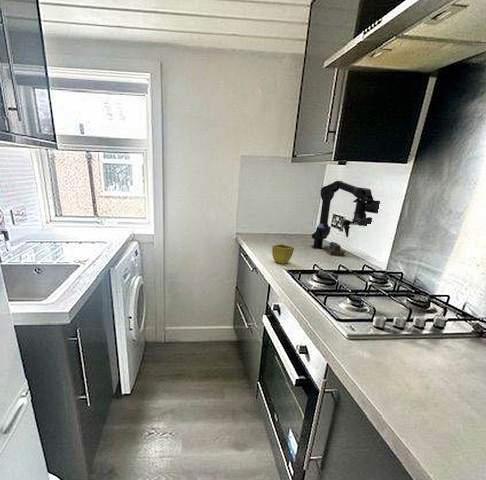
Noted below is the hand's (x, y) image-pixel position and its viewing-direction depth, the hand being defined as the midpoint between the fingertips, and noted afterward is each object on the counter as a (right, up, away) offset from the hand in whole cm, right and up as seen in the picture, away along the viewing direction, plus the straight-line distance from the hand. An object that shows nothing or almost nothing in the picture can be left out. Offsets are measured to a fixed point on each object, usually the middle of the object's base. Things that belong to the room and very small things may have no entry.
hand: (354, 237), depth 178 cm
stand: (-7, -8, +14) cm, 17 cm away
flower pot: (-47, -15, -13) cm, 51 cm away
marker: (-7, -5, +13) cm, 15 cm away
